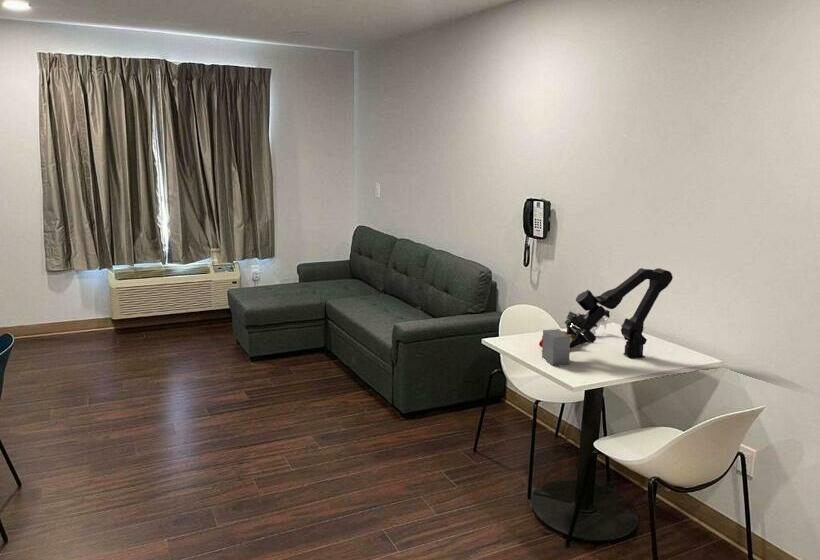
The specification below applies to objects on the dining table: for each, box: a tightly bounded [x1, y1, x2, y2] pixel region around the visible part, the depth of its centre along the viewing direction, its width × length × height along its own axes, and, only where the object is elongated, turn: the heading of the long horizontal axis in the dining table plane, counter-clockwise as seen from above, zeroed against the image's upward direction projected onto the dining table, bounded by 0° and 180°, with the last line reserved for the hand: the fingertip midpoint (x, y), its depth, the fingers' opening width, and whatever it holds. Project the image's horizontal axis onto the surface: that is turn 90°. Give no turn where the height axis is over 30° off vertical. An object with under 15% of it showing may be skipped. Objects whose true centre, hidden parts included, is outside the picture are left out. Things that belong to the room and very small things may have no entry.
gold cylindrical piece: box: [569, 334, 577, 350], centre depth 261 cm, size 8×6×6 cm
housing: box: [541, 328, 571, 367], centre depth 261 cm, size 7×11×12 cm, turn 11°
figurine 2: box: [590, 316, 608, 336], centre depth 300 cm, size 8×12×10 cm
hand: (565, 345), depth 261 cm, fingers closed on gold cylindrical piece, 6 cm apart
